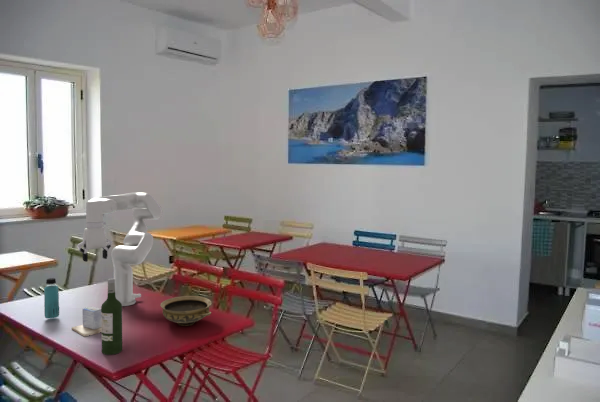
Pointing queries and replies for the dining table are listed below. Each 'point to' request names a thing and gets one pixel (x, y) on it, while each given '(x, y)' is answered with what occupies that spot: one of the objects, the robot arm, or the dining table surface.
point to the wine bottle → (111, 322)
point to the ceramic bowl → (186, 309)
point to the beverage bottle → (51, 299)
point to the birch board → (86, 330)
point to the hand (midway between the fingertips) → (95, 259)
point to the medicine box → (92, 318)
